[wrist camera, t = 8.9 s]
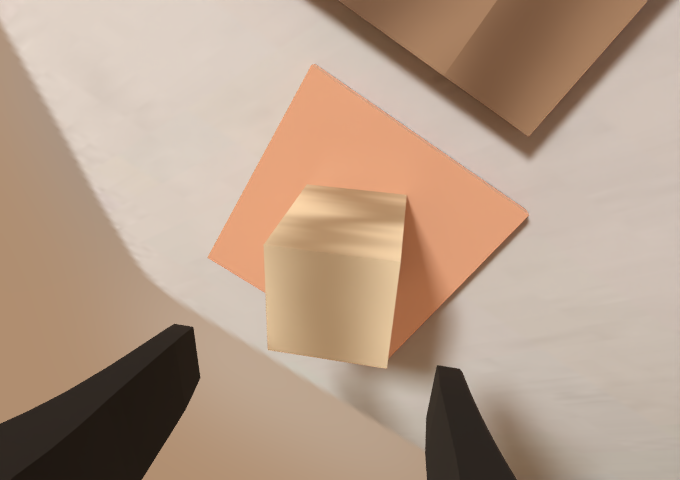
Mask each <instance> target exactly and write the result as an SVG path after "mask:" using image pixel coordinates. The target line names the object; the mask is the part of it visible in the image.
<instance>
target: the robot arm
mask: <svg viewBox="0 0 680 480" xmlns="http://www.w3.org/2000/svg"><path fill="white" fill-rule="evenodd" d="M199 379H200V373H199V365H198V358H197V351H196V343H195V336H194V329H193V327H190V326H184V325H177V324H174V325H172V326H170V327H169V328H167V329H165V330H164V331H162V332H161V333H159V334H158V335H156V336H155V337H153V338H152V339H150V340H149V341H147V342H146V343H144V344H143V345H141V346H139V347H138V348H136V349H135V350H133V351H132V352H130V353H129V354H127V355H126V356H124V357H123V358H121V359H119V360H118V361H116V362H115V363H113V364H112V365H110V366H108V367H107V368H106V369H103V370H102V371H100V372H99V373H97V374H95V375H93V376H92V377H90V378H88V379H87V380H85V381H83V382H82V383H80V384H78V385H77V386H75V387H73V388H71V389H70V390H68V391H66V392H65V393H62V394H61V395H59V396H57V397H55V398H53V399H51V400H49V401H47V402H45V403H43V404H41V405H39V406H38V407H35V408H33V409H31V410H29V411H27V412H25V413H23V414H21V415H19V416H16V417H14V418H12V419H10V420H7V421H6V422H3V423H1V424H0V480H142V478H143V477H144V475H145V474H146V472H147V470H148V469H149V467H150V466H151V464H152V462H153V461H154V459H155V458H156V456H157V454H158V453H159V451H160V450H161V448H162V446H163V445H164V443H165V442H166V440H167V438H168V437H169V435H170V434H171V432H172V431H173V429H174V427H175V426H176V424H177V423H178V421H179V419H180V418H181V416H182V414H183V413H184V411H185V409H186V407H187V405H188V403H189V401H190V399H191V397H192V395H193V393H194V390H195V388H196V386H197V384H198V382H199ZM425 455H426V471H427V480H517V479H516V478H515V476H514V474H513V473H512V471H511V469H510V468H509V466H508V464H507V463H506V461H505V459H504V458H503V456H502V454H501V452H500V451H499V449H498V447H497V445H496V443H495V442H494V440H493V438H492V436H491V434H490V432H489V430H488V428H487V426H486V424H485V422H484V420H483V418H482V416H481V414H480V412H479V410H478V408H477V406H476V404H475V402H474V399H473V397H472V395H471V393H470V390H469V388H468V385H467V383H466V380H465V378H464V375H463V373H462V371H461V370H460V369H457V368H451V367H444V366H438V365H437V368H436V373H435V378H434V383H433V387H432V392H431V397H430V402H429V407H428V412H427V417H426V447H425Z"/></svg>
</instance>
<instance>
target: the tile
mask: <svg viewBox="0 0 680 480" xmlns="http://www.w3.org/2000/svg"><path fill="white" fill-rule="evenodd" d="M307 184H308V185H318V186H328V187H337V188H347V189H356V190H366V191H375V192H385V193H394V194H404V195H407V197H406V208H405V219H404V231H403V242H402V253H401V263H400V271H399V279H398V286H397V294H396V302H395V309H394V317H393V325H392V333H391V340H390V348H389V356H388V359H389V358H390V357H391V356H392V355H393V354H394V353H395V351H396V350H397V349H398V348H399V347H400V346H401V345H402V344H403V343H404V342H405V341H406V340H407V339H408V338H409V337H410V336H411V335H412V334H413V333H414V332H415V331H416V330H417V329H418V328H419V327H420V326H421V325H422V324H423V323H424V322H425V321H426V320H427V319H428V318H429V317H430V316H431V315H432V314H433V313H434V312H435V311H436V310H437V309H438V308H439V307H440V305H441V304H442V303H443V302H444V301H445V300H446V299H447V298H448V297H449V296H450V295H451V294H452V293H453V292H454V291H455V290H456V289H457V288H458V287H459V286H460V285H461V284H462V283H463V282H464V281H465V280H466V279H467V278H468V277H469V276H470V275H471V274H472V273H473V272H474V271H475V270H476V269H477V268H478V267H479V266H480V265H481V264H482V263H483V262H484V261H485V260H486V258H487V257H488V256H489V255H490V254H491V253H492V252H493V251H494V250H495V249H496V248H497V247H498V246H499V245H500V244H501V243H502V242H503V241H504V240H505V239H506V238H507V237H508V236H509V235H510V234H511V233H512V232H513V231H514V230H515V229H516V228H517V227H518V226H519V225H520V224H521V223H522V222H523V221H524V220H525V219H526V218H527V217H528V216H529V214H528V212H527V211H526V209H524V208H523V207H521V206H520V205H519V204H517V203H516V202H514V201H513V200H511V199H510V198H508V197H507V196H505V195H504V194H503V193H501V192H500V191H498V190H497V189H495V188H494V187H492V186H491V185H490V184H488V183H487V182H485V181H484V180H482V179H481V178H479V177H478V176H477V175H475V174H474V173H472V172H471V171H469V170H468V169H466V168H465V167H464V166H462V165H461V164H459V163H458V162H456V161H455V160H453V159H452V158H450V157H449V156H448V155H446V154H445V153H443V152H442V151H440V150H439V149H437V148H436V147H435V146H433V145H432V144H430V143H429V142H427V141H426V140H424V139H423V138H422V137H420V136H419V135H417V134H416V133H414V132H413V131H411V130H410V129H409V128H407V127H406V126H404V125H403V124H401V123H400V122H398V121H397V120H395V119H394V118H393V117H391V116H390V115H388V114H387V113H385V112H384V111H382V110H381V109H380V108H378V107H377V106H375V105H374V104H372V103H371V102H369V101H368V100H367V99H365V98H364V97H362V96H361V95H359V94H358V93H356V92H355V91H354V90H352V89H351V88H349V87H348V86H346V85H345V84H343V83H342V82H340V81H339V80H338V79H336V78H335V77H333V76H332V75H330V74H329V73H327V72H326V71H325V70H323V69H322V68H320V67H319V66H317V65H316V64H313V65H311V67H310V69H309V71H308V73H307V74H306V76H305V78H304V80H303V82H302V84H301V85H300V87H299V89H298V91H297V93H296V95H295V97H294V98H293V100H292V102H291V104H290V106H289V108H288V110H287V111H286V113H285V115H284V117H283V119H282V121H281V122H280V124H279V126H278V128H277V130H276V132H275V134H274V135H273V137H272V139H271V141H270V143H269V145H268V147H267V148H266V150H265V152H264V154H263V156H262V158H261V160H260V161H259V163H258V165H257V167H256V169H255V171H254V172H253V174H252V176H251V178H250V180H249V182H248V184H247V185H246V187H245V189H244V191H243V193H242V195H241V197H240V198H239V200H238V202H237V204H236V206H235V208H234V210H233V211H232V213H231V215H230V217H229V219H228V221H227V222H226V224H225V226H224V228H223V230H222V232H221V234H220V235H219V237H218V239H217V241H216V243H215V245H214V247H213V248H212V250H211V252H210V254H209V256H208V258H209V259H211V260H212V261H214V262H216V263H217V264H219V265H221V266H222V267H224V268H225V269H227V270H229V271H230V272H232V273H234V274H235V275H237V276H239V277H240V278H242V279H243V280H245V281H247V282H248V283H250V284H252V285H253V286H255V287H257V288H258V289H260V290H261V291H263V292H265V269H264V244H265V242H266V241H267V239H268V238H269V237H270V235H271V234H272V232H273V231H274V230H275V228H276V227H277V225H278V224H279V223H280V221H281V220H282V218H283V217H284V216H285V214H286V213H287V211H288V210H289V209H290V207H291V206H292V204H293V203H294V202H295V200H296V199H297V197H298V196H299V195H300V193H301V192H302V190H303V189H304V188H305V186H306V185H307Z"/></svg>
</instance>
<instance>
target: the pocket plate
mask: <svg viewBox="0 0 680 480" xmlns="http://www.w3.org/2000/svg"><path fill="white" fill-rule="evenodd" d="M338 1H339V2H341V3H342V4H344V5H345V6H346V7H348V8H349V9H351V10H352V11H353V12H355V13H356V14H358V15H359V16H360V17H362V18H363V19H365V20H366V21H367V22H369V23H370V24H372V25H373V26H374V27H376V28H377V29H379V30H380V31H381V32H383V33H384V34H386V35H387V36H388V37H390V38H391V39H393V40H394V41H395V42H397V43H398V44H400V45H401V46H402V47H404V48H405V49H407V50H408V51H409V52H411V53H412V54H414V55H415V56H416V57H418V58H419V59H421V60H422V61H423V62H425V63H426V64H427V65H429V66H430V67H432V68H433V69H434V70H436V71H437V72H439V73H440V74H441V75H443V76H444V77H446V78H447V79H448V80H450V81H451V82H453V83H454V84H455V85H457V86H458V87H460V88H461V89H462V90H464V91H465V92H467V93H468V94H469V95H471V96H472V97H474V98H475V99H476V100H478V101H479V102H481V103H482V104H483V105H485V106H486V107H488V108H489V109H490V110H492V111H493V112H495V113H496V114H497V115H499V116H500V117H502V118H503V119H504V120H506V121H507V122H509V123H510V124H511V125H513V126H514V127H516V128H517V129H518V130H520V131H521V132H523V133H524V134H525V135H527V136H528V137H529V136H530V135H531V133H532V132H533V131H534V130H535V129H536V128H537V127H538V125H539V124H540V123H541V122H542V121H543V120H544V119H545V117H546V116H547V115H548V114H549V113H550V112H551V111H552V110H553V108H554V107H555V106H556V105H557V104H558V103H559V102H560V100H561V99H562V98H563V97H564V96H565V95H566V94H567V92H568V91H569V90H570V89H571V88H572V87H573V86H574V84H575V83H576V82H577V81H578V80H579V79H580V78H581V76H582V75H583V74H584V73H585V72H586V71H587V70H588V68H589V67H590V66H591V65H592V64H593V63H594V62H595V60H596V59H597V58H598V57H599V56H600V55H601V54H602V53H603V51H604V50H605V49H606V48H607V47H608V46H609V45H610V43H611V42H612V41H613V40H614V39H615V38H616V37H617V35H618V34H619V33H620V32H621V31H622V30H623V29H624V27H625V26H626V25H627V24H628V23H629V22H630V21H631V19H632V18H633V17H634V16H635V15H636V14H637V13H638V11H639V10H640V9H641V8H642V7H643V6H644V5H645V3H646V2H647V1H648V0H338Z"/></svg>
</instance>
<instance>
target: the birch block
mask: <svg viewBox="0 0 680 480" xmlns="http://www.w3.org/2000/svg"><path fill="white" fill-rule="evenodd" d="M406 197H407V195H404V194H394V193H385V192H375V191H366V190H356V189H347V188H337V187H328V186H318V185H308V184H307V185H306V186H305V188H304V189H303V190H302V192H301V193H300V195H299V196H298V197H297V199H296V200H295V202H294V203H293V204H292V206H291V207H290V209H289V210H288V211H287V213H286V214H285V216H284V217H283V218H282V220H281V221H280V223H279V224H278V225H277V227H276V228H275V230H274V231H273V232H272V234H271V235H270V237H269V238H268V239H267V241H266V242H265V244H264V269H265V293H266V318H267V342H268V350H272V351H278V352H284V353H291V354H297V355H303V356H310V357H316V358H322V359H329V360H335V361H341V362H348V363H354V364H360V365H367V366H373V367H379V368H386V369H387V363H388V356H389V348H390V340H391V333H392V325H393V317H394V309H395V302H396V294H397V286H398V279H399V271H400V263H401V253H402V242H403V231H404V219H405V208H406Z"/></svg>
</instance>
